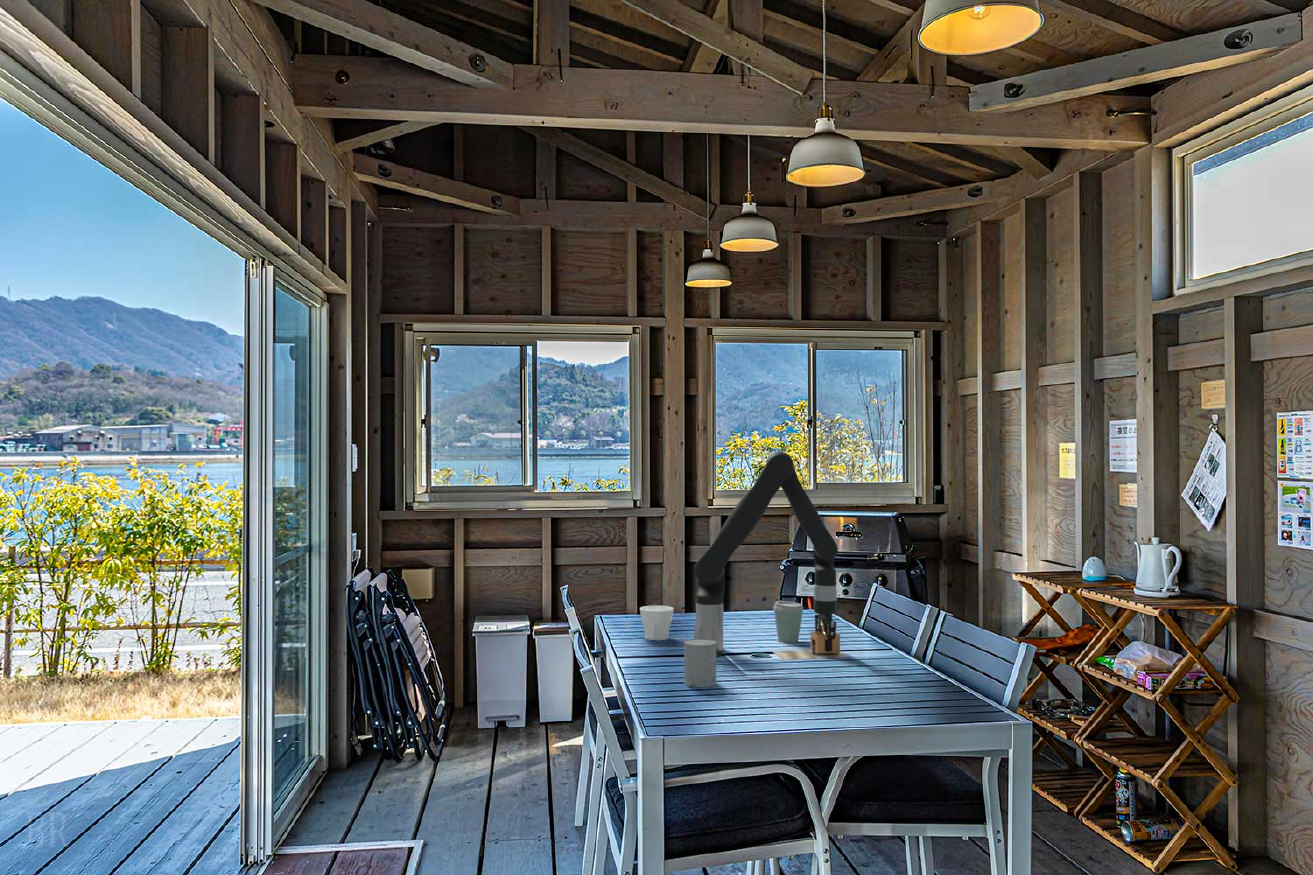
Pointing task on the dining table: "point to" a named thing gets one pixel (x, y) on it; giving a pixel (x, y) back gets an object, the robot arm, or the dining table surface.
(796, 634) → the disposable coffee cup
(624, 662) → the dining table surface
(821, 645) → the cardboard box
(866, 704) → the dining table surface
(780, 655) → the board
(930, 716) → the dining table surface
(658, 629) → the cup
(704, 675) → the grey cylinder
